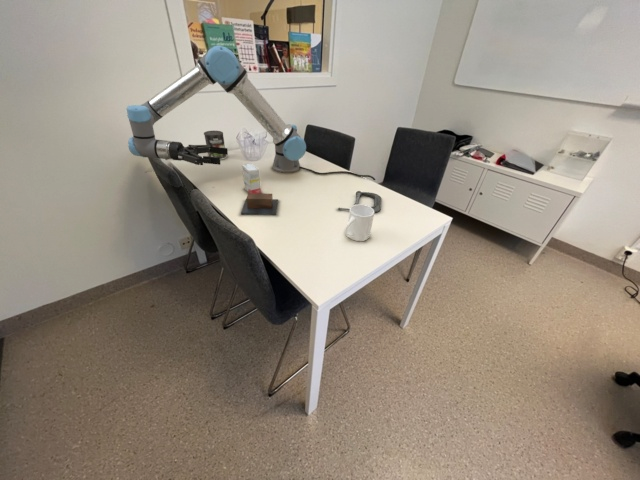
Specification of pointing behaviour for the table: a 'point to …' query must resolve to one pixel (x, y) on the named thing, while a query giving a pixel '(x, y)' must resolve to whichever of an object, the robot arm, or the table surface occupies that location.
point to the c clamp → (377, 198)
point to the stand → (260, 204)
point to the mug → (359, 222)
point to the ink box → (251, 178)
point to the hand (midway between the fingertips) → (223, 156)
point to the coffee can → (215, 142)
